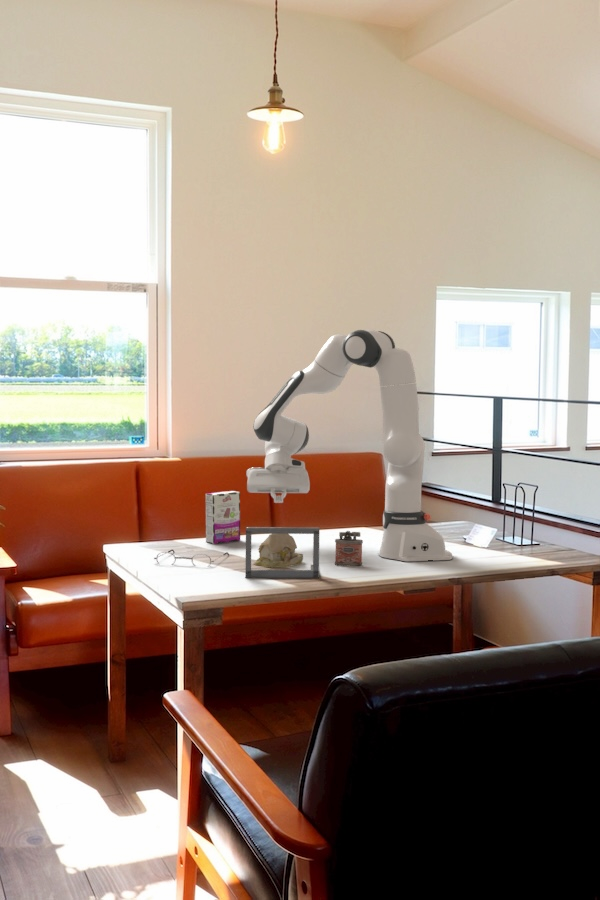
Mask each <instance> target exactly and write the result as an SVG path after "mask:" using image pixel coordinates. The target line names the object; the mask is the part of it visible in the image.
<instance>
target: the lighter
mask: <svg viewBox="0 0 600 900" xmlns="http://www.w3.org/2000/svg"><path fill="white" fill-rule="evenodd" d="M338 535H339V538H336V539H334V542H335V560H334V565H335V566H340V567H363V542H364V541H363V540H362V539H357V537H359V538H360V537H361V532H360V531H352V532H351V531H350V530H346V531H339V534H338ZM352 537H353V538H352Z"/></svg>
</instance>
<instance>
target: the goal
mask: <svg viewBox="0 0 600 900" xmlns="http://www.w3.org/2000/svg"><path fill="white" fill-rule="evenodd" d="M253 534H258V535H260V534H269V535H270V534H289V535H292V534H293V535H294V534H295V535H303V534H306V535H310V534H311V535H312V534H313V535H312V538H313V540H312V541H313V545H312V547H313V548H312V552H313V553H312V555H313V556H312V564H310V569H252V535H253ZM319 571H320V527H308V526H306V527H304V526H303V527H302V526H301V527H300V526H298V527H293V526H292V527H291V526H288V527H286V526H285V527H284V526H279V527H278V526H274V527H273V526H272V527H271V526H263V527H262V526H246V527H245V577H244V578H245V579H319V577H320V575H319V574H320V572H319Z"/></svg>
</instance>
